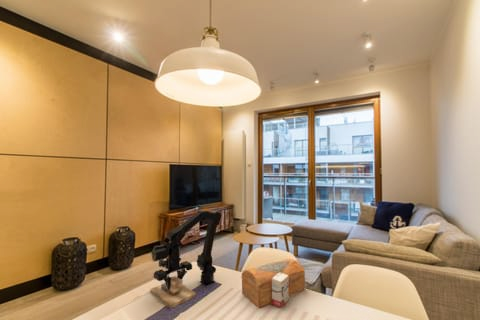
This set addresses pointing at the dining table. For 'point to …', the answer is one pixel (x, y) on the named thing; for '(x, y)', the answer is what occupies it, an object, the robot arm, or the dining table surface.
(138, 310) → the dining table surface
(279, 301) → the ink box
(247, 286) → the wooden box
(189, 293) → the oak board
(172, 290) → the tan rectangular block
